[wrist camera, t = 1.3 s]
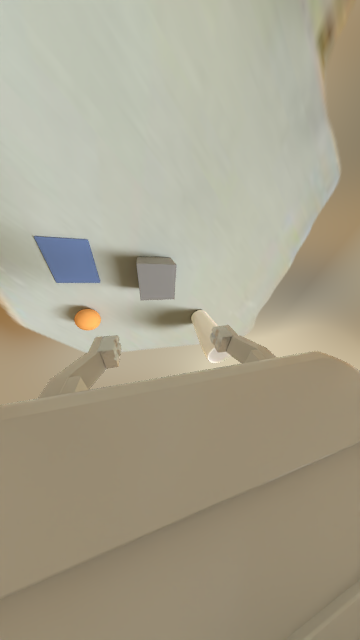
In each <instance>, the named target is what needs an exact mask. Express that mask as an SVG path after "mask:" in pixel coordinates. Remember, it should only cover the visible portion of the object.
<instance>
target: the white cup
mask: <svg viewBox="0 0 360 640" xmlns="http://www.w3.org/2000/svg"><path fill="white" fill-rule="evenodd" d="M191 321H192V323H193V325H194V328H195V331H196V334H197V337H198V339H199V342H200V345H201V347H202V350H203V352H204V354H205V356H206V357H207V359H208V361H209V362H212V363H219V362H222V361H224V360H226V359H228V358H229V357H230V356H231V355H229V354H228V353H227V352H217V351H216V349H215V345H214V344H212V343H211V340H210V335H211V333H212V328H213V327H216V326H218V325H217V324H216V323H215V322H214V321H213V320H212V319H211V317H210V316H209V315H208V314H207V313H206V312H205V311H204V310H198V311H195V312H194V313H193V314H192V316H191Z"/></svg>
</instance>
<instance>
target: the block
mask: <svg viewBox="0 0 360 640" xmlns="http://www.w3.org/2000/svg"><path fill="white" fill-rule="evenodd" d="M136 264H137V273H138V282H139V290H140V299H141V300H163V299H174V296H175V278H176V264H175V263H174V261H173V260H172V259H171V258H162V257H138V258H137V263H136Z"/></svg>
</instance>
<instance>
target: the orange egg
mask: <svg viewBox="0 0 360 640" xmlns="http://www.w3.org/2000/svg"><path fill="white" fill-rule="evenodd" d="M74 321H75V324H76V325H77V326H78V327H79V328H80V329H83V330H92V329H95V328H96V327H98V326H99V324H100V322H101V318H100V315H99V314H98V313H97V312H96V311H95V310H92V309H83V310H81V311H79V312H78V313H77V314H76V315H75V318H74Z"/></svg>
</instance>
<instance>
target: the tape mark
mask: <svg viewBox="0 0 360 640" xmlns="http://www.w3.org/2000/svg"><path fill="white" fill-rule="evenodd" d="M34 238H35V240H36V242H37V244H38V246H39V248H40V250H41V252H42V254H43V256H44V258H45V260H46V262H47V264H48V266H49V268H50V270H51V272H52V274H53V277H54V279H55V281H56V283H100V280H99V276H98V273H97V269H96V266H95V263H94V259H93V256H92V252H91V249H90V245H89V242H88V240H86V239H70V238H55V237H39V236H34Z"/></svg>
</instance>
